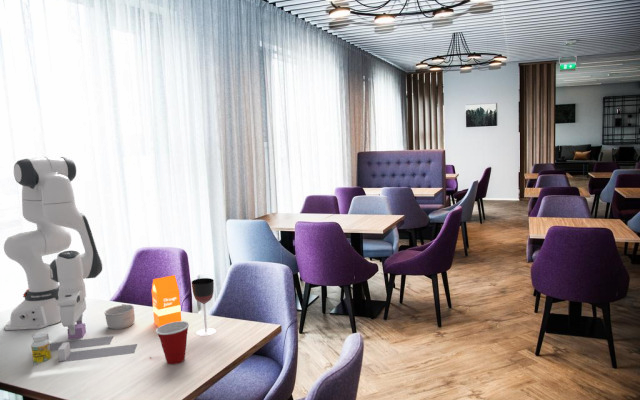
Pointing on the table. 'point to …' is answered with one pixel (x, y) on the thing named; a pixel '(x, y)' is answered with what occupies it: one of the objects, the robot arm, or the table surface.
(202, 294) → the wineglass
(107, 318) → the teacup
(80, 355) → the empty strip
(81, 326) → the plum block
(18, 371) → the table surface
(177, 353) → the plastic cup
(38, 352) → the supplement bottle
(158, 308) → the orange juice
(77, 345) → the cube strip
